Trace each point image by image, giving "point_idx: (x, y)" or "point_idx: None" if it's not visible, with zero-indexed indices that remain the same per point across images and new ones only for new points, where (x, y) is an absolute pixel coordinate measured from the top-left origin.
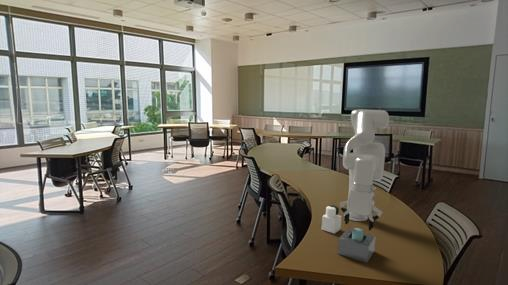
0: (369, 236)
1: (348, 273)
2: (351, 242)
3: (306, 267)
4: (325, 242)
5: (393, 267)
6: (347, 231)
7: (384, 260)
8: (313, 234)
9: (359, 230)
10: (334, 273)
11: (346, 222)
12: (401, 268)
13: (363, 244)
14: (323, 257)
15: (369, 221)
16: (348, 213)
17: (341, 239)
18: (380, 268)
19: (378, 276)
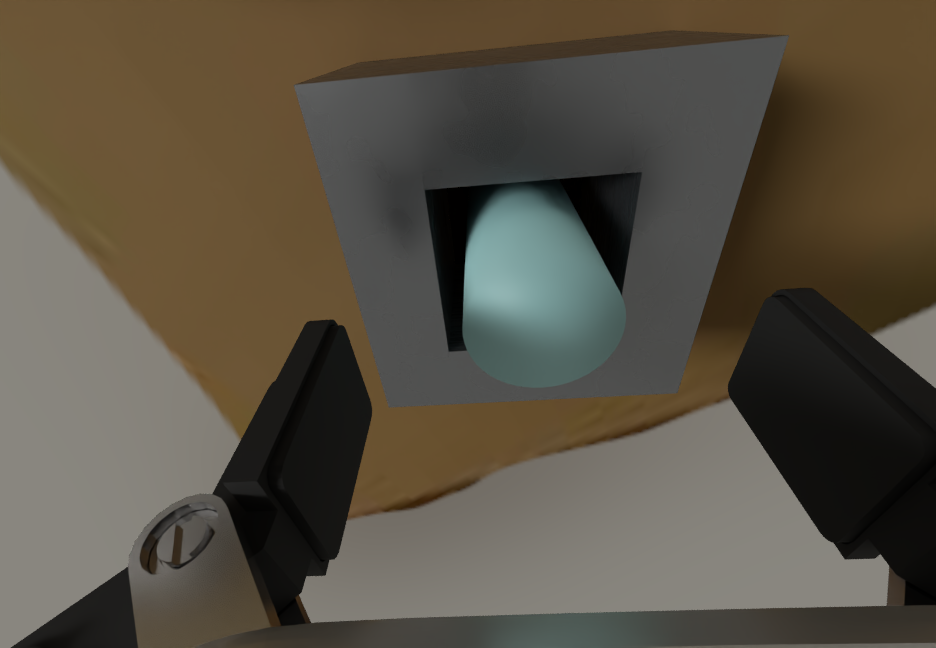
0: (678, 143)
1: (550, 440)
2: (512, 393)
3: (376, 492)
4: (222, 206)
5: (828, 231)
6: (358, 204)
7: (767, 164)
8: (3, 120)
9: (562, 323)
10: (495, 469)
11: (360, 439)
12: (899, 203)
13: (626, 386)
14: (373, 397)
15: (834, 542)
16: (280, 551)
17: (416, 400)
18: (720, 304)
19: (703, 385)
